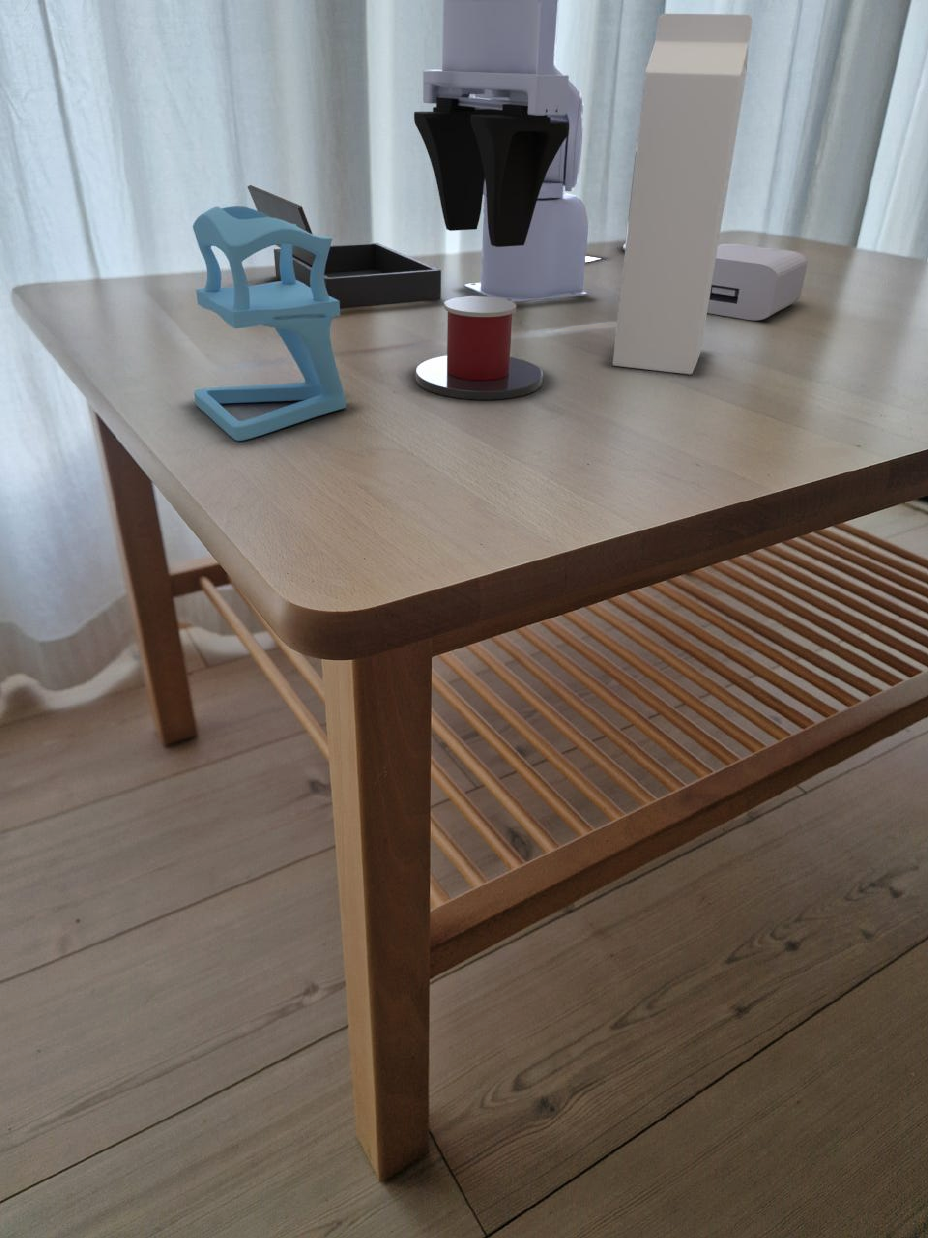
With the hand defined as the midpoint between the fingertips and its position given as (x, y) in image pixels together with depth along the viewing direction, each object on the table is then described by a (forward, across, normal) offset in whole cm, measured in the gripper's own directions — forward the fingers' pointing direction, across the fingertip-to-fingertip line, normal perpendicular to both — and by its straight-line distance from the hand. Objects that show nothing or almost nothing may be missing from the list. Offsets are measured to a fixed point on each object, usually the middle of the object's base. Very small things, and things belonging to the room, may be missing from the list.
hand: (483, 237), depth 58 cm
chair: (+10, +1, -15) cm, 18 cm away
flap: (+3, -29, -4) cm, 29 cm away
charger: (+10, -12, +36) cm, 39 cm away
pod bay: (+9, -29, +2) cm, 31 cm away
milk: (+10, +1, +15) cm, 18 cm away
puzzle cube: (+10, -37, +30) cm, 49 cm away
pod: (+9, 0, 0) cm, 9 cm away
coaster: (+9, 0, 0) cm, 9 cm away
